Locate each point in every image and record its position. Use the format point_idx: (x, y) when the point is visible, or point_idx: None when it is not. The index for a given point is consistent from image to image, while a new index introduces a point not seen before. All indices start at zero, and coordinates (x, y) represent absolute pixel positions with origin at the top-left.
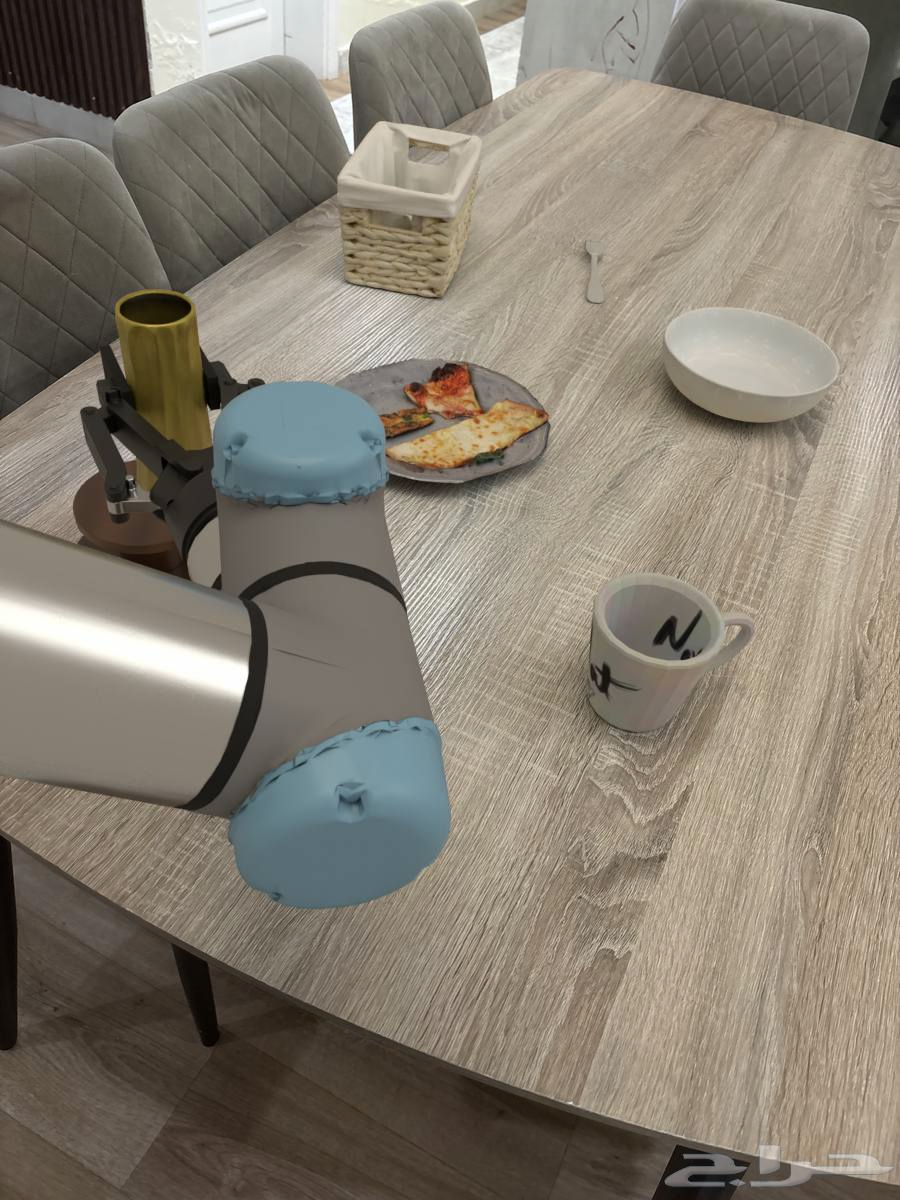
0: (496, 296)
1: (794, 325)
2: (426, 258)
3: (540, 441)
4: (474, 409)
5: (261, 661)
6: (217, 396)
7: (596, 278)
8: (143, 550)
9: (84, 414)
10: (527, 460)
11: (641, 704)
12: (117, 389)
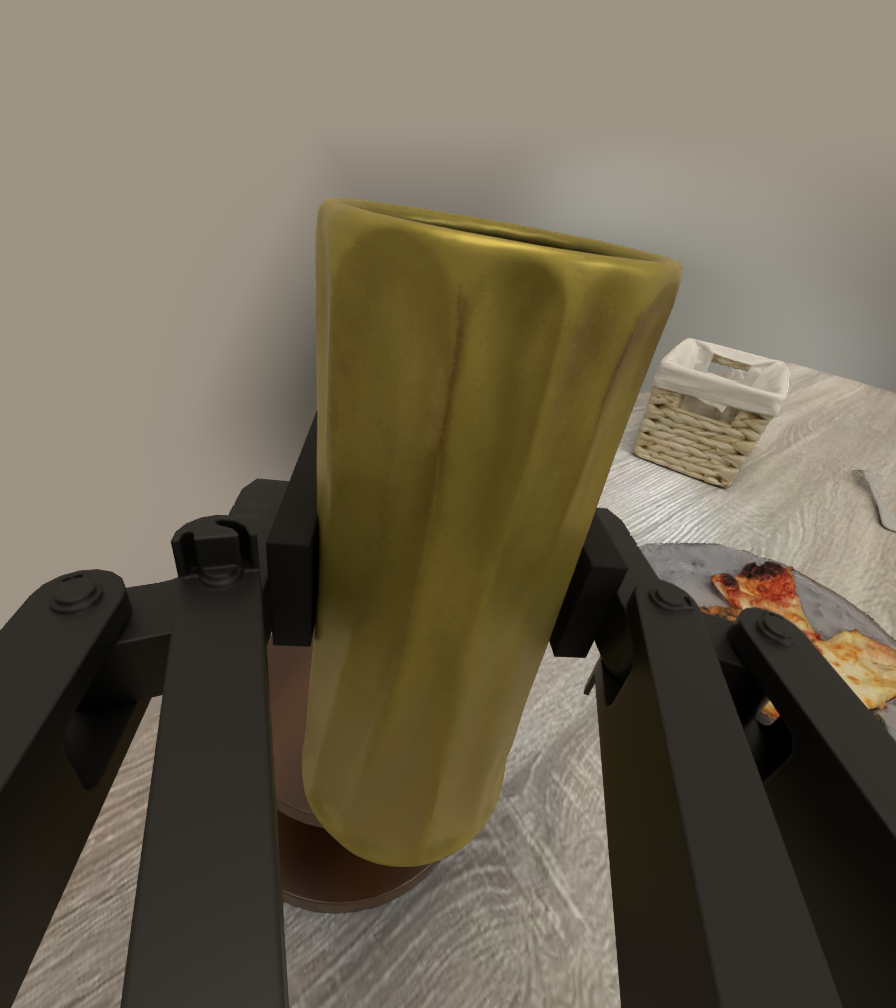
0: (781, 499)
1: None
2: (726, 449)
3: None
4: (808, 630)
5: None
6: (594, 624)
7: (885, 506)
8: (305, 819)
9: (32, 611)
10: None
11: None
12: (246, 531)
